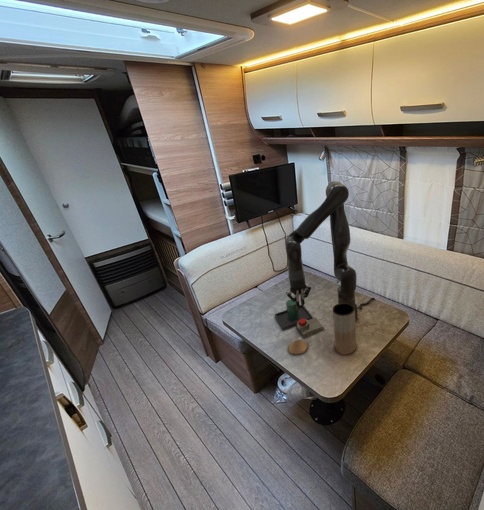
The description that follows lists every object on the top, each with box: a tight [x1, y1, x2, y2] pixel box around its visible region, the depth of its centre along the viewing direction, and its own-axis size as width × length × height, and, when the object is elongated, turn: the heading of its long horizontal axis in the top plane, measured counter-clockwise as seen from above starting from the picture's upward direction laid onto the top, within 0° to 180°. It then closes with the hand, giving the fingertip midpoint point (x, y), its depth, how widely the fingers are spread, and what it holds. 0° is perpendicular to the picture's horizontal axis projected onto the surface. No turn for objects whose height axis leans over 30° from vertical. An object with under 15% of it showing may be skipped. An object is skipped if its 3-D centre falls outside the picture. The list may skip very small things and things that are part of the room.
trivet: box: [288, 340, 308, 356], centre depth 137 cm, size 9×9×1 cm
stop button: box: [299, 319, 306, 325], centre depth 148 cm, size 4×4×2 cm
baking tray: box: [274, 304, 313, 331], centre depth 159 cm, size 17×14×2 cm
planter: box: [332, 303, 357, 355], centre depth 131 cm, size 10×10×23 cm
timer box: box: [296, 317, 324, 338], centre depth 149 cm, size 12×10×4 cm
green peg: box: [285, 299, 299, 320], centre depth 157 cm, size 6×6×10 cm
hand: (300, 305), depth 143 cm, fingers closed
